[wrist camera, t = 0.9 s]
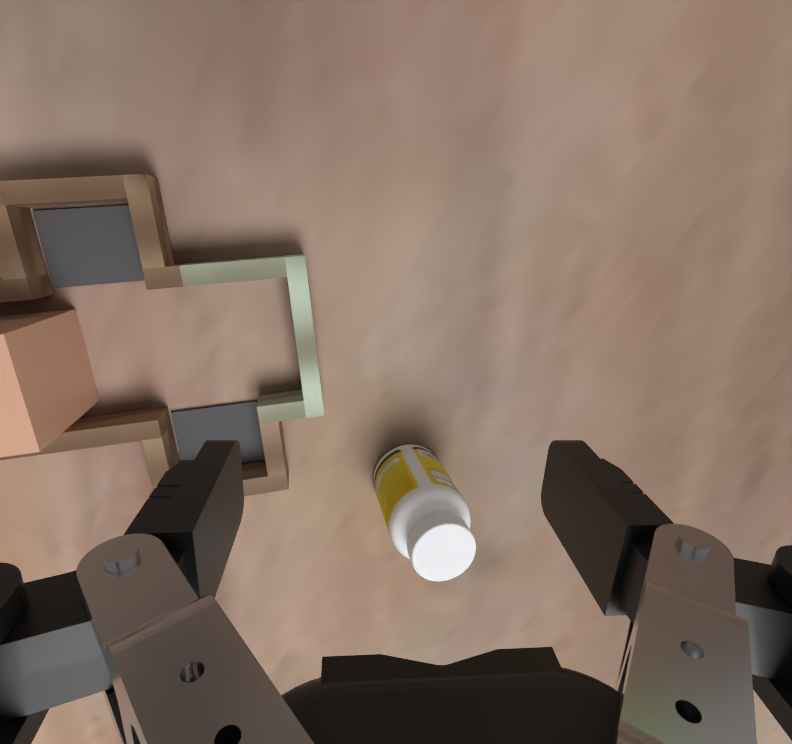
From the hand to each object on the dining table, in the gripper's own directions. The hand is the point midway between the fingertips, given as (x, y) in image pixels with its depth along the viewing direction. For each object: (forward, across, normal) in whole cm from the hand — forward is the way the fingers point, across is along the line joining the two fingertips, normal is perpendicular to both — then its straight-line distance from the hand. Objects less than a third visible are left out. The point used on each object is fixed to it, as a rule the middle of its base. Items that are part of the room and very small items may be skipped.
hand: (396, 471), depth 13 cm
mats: (+20, +14, +3) cm, 25 cm away
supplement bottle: (+22, -3, +14) cm, 26 cm away
